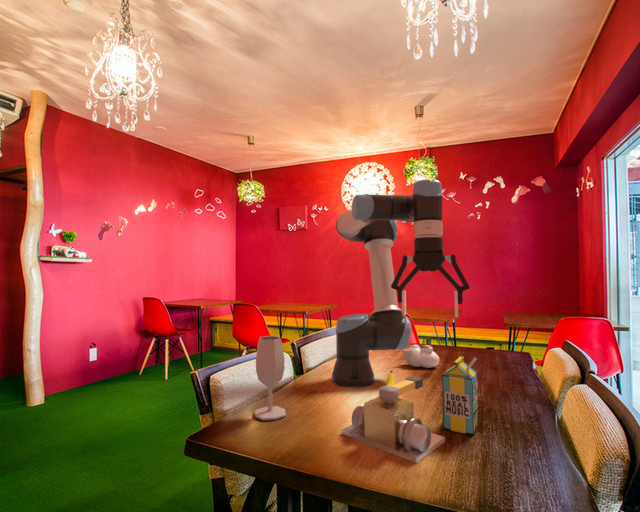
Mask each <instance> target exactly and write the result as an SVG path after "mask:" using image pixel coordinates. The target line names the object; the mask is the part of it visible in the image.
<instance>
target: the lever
mask: <svg viewBox="0 0 640 512" xmlns="http://www.w3.org/2000/svg"><path fill="white" fill-rule="evenodd" d="M423 387H424V379H423V377H418V376H413V375H410V376H408V377H405V380H402V381H400V382H398V383H395V385H393V386H386V385H384V386H380V387H379V388H378V397H379V399H381V400H383V401H397V400H398V399H399V398H400V396H402V395H404V394H406V393H408V392H410V391H412V390H418V389H421V388H423Z"/></svg>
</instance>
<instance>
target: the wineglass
mask: <svg viewBox="0 0 640 512" xmlns="http://www.w3.org/2000/svg"><path fill="white" fill-rule="evenodd" d="M283 346H284V345H283V343H282V339H281V336H278V335H266V336H265V335H264V336H259V338H258V343H257V347H256V354H255V355H256V356H255V371H256V376H257V380H258V381H259V382H261V383H262V384H263V385H264V386H265V387H266V388H267V406H264V407H261V408H258V409H255V411H254V417H255V418H256V419H258V420H261V421H276V420H279V419H282V418H284V417H286V416H287V413H286V408H283V407H281V406H278V405H273V404H274V403H273V402H274V401H273V399H274V398H273V391H274V390H273V388H274V387H276V385H277V384H279V382H281V381H282V380H283V378H284V372H285V369H286V367H285V354H284V352H285V351H284V347H283Z"/></svg>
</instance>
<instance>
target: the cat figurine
mask: <svg viewBox="0 0 640 512" xmlns="http://www.w3.org/2000/svg"><path fill="white" fill-rule="evenodd" d="M421 347H422V348H421ZM421 347H420V346H419V345H418V344H413V345H411V346H410V347H408V348H404V349H401V353H402V354H403V355H402V356H401V359H402V360H403V361H405V362H407V364H409V365H410V366H411V367H414V368H420V367H421V368H424V369H430V368H434V367H436V366H437V365H439V363H440V357H439V355H438V354H437V353H436V352H435V351H434V350H433V349H434V348H433V346H431V345H429V344H421Z"/></svg>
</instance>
